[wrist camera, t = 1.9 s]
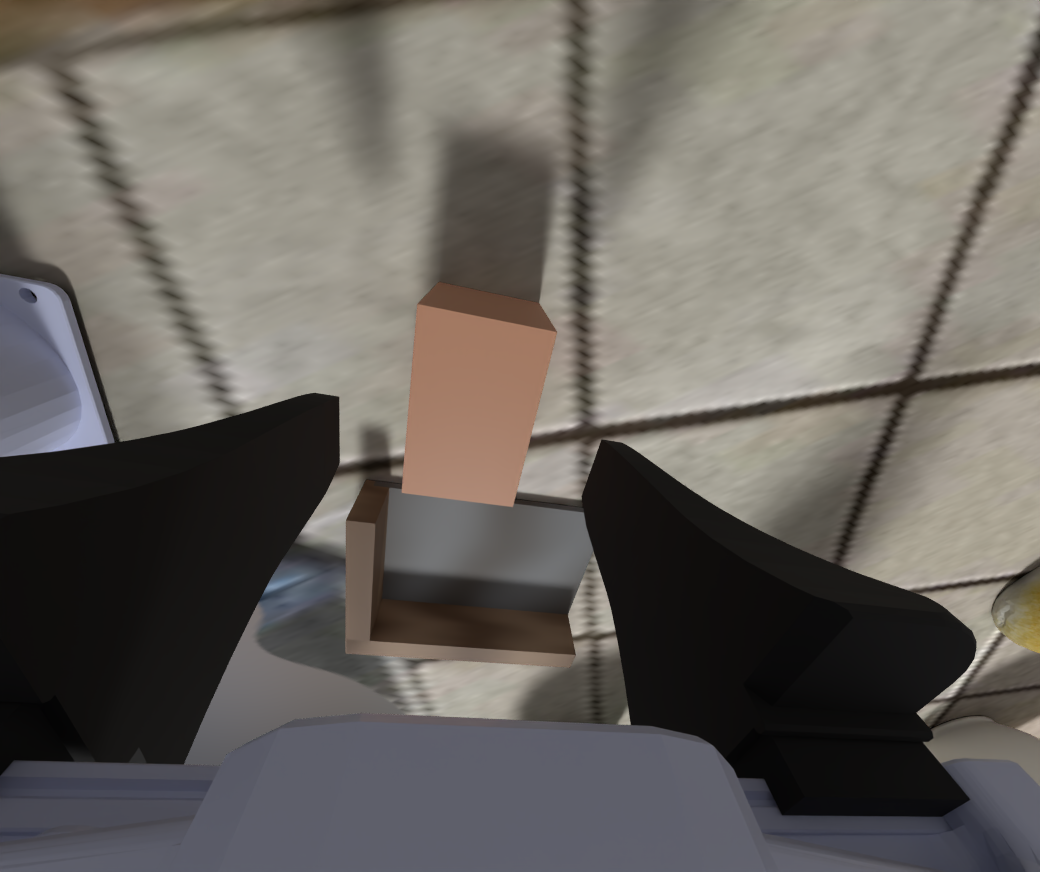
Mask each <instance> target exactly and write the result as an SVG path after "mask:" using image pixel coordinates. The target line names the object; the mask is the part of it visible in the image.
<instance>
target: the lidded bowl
mask: <svg viewBox="0 0 1040 872" xmlns="http://www.w3.org/2000/svg"><path fill="white" fill-rule="evenodd" d="M931 731H932V732H933V737H934V738H933V739H932V740H930V741H929V742H923V743H924V744H925V745H926V747H927V748H928V749H929V750H930V751H931V753H932V754H933V755H934V756H935V757H936V759H937V760H938V761H939V762H940V763H943V762H946V761H950V760H953V759H961V758H970V759H997V760H1010V761H1012V762H1015V763H1018V764H1019V765H1020V766H1021V767H1022V768H1023V769H1024V771H1025V772H1026V773H1027V774H1028V775H1029V776H1030V777H1031V778H1032V779H1033V780H1034V781H1035V782H1036V783H1037V784H1038V785H1039V786H1040V739H1039V738H1037V737H1035V736H1033V735H1031V734H1029V733H1026V732H1023V731H1021V730H1018V729H1015V728H1012V727H1009V726H1006V725H1002V724H998V723H995V722H994V721H993V720H992V719H991V718H989V717H986V716H969V717H963V718H959V719H955V720H951V721H948V722H946V723H943V724H940V725H938V726H936V727H934V728H932V729H931Z"/></svg>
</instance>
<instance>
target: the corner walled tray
mask: <svg viewBox="0 0 1040 872" xmlns="http://www.w3.org/2000/svg"><path fill="white" fill-rule="evenodd" d="M592 553H593V547H592V544H591V541H590V537H589V534H588V531H587V527H586V522H585V517H584V510H583V508H581V507H573V506H565V505H558V504H550V503H542V502H535V501H527V500H519V499H515V501H514V505H513V507H509V506H501V505H493V504H485V503H477V502H469V501H461V500H453V499H446V498H438V497H430V496H422V495H414V494H406V493H402V484H396V483H388V482H381V481H373V480H366V481H365V483H364V485H363V487H362V489H361V491H360V493H359V495H358V497H357V499H356V501H355V503H354V505H353V507H352V509H351V511H350V513H349V515H348V517H347V519H346V654H361V655H377V656H393V657H409V658H425V659H441V660H457V661H473V662H489V663H505V664H521V665H537V666H553V667H568V668H570V667H571V664H572V662H573V660H574V658H575V655H576V654H575V649H574V644H573V639H572V634H571V629H570V624H569V618H568V613H569V610H570V608H571V605H572V603H573V600H574V598H575V595H576V593H577V590H578V588H579V585H580V583H581V580H582V578H583V575H584V573H585V570H586V568H587V565H588V563H589V560H590V558H591V555H592Z"/></svg>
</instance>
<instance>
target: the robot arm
mask: <svg viewBox="0 0 1040 872" xmlns="http://www.w3.org/2000/svg"><path fill="white" fill-rule="evenodd" d="M31 291H32V292H33V293H35V295H36V297H37V299H36V298H35V297H33V295H32V293H31ZM339 463H340V446H339V397H337V396H331V395H325V394H319V393H310V394H305V395H301V396H298V397H294V398H291V399H288V400H284V401H281V402H278V403H275V404H272V405H269V406H265V407H262V408H259V409H256V410H253V411H249V412H246V413H243V414H239V415H236V416H232V417H229V418H225V419H222V420H218V421H214V422H211V423H207V424H204V425H200V426H196V427H192V428H188V429H184V430H179V431H175V432H170V433H165V434H160V435H155V436H150V437H145V438H140V439H135V440H129V441H123V442H116V443H115V442H114V438H113V435H112V432H111V429H110V426H109V422H108V419H107V416H106V413H105V410H104V407H103V403H102V400H101V397H100V394H99V391H98V387H97V384H96V381H95V378H94V375H93V371H92V368H91V365H90V362H89V359H88V355H87V352H86V349H85V346H84V343H83V340H82V336H81V333H80V330H79V327H78V324H77V320H76V317H75V314H74V311H73V308H72V304H71V301H70V299H69V297H68V295H67V294H66V293H65V291H64V290H63V289H61V288H60V287H58V286H57V285H55V284H52V283H48V282H43V281H37V280H32V279H26V278H21V277H15V276H10V275H4V274H0V872H1040V786H1039V785H1038V784H1037V783H1036V782H1035V781H1034V780H1033V779H1032V778H1031V777H1030V776H1029V775H1028V774H1027V773H1026V772H1025V771H1024V769H1023V768H1022V767H1021V766H1020V765H1019V764H1018V763H1015V762H1012V761H1010V760H997V759H970V758H961V759H953V760H950V761H946V762H943V763H940V762H939V761H938V760H937V759H936V757H935V756H934V755H933V754H932V753H931V751H930V750H929V749H928V748H927V747H926V745H925V744H924V743H923V742H929V741H930V740H932V739H933V738H934V737H933V732H932V731H931V729H930V728H929V727H928V726H927V725H926V724H925V722H924V721H923V720H922V719H921V718H920V717H919V716H918V714H917V712H918V711H919V710H920V709H921V708H923V707H924V706H925V705H926V704H928V703H929V702H930V701H931V700H933V699H934V698H935V697H936V696H938V695H939V694H940V693H941V692H943V691H944V690H945V689H946V688H948V687H949V686H950V685H951V684H953V683H954V682H955V681H956V680H957V679H958V678H959V677H960V676H961V675H962V674H963V673H964V672H965V671H966V670H967V669H968V667H969V666H970V664H971V663H972V661H973V660H974V657H975V652H976V639H975V637H974V635H973V632H972V631H971V630H970V629H969V628H968V627H966V626H965V625H964V624H963V623H962V622H961V621H959V620H958V619H957V618H956V617H955V616H954V615H952V614H951V613H950V612H949V611H948V610H947V609H945V608H944V607H943V606H941V605H940V604H938V603H936V602H935V601H933V600H931V599H929V598H927V597H925V596H922V595H919V594H916V593H913V592H911V591H908V590H905V589H902V588H899V587H896V586H893V585H890V584H887V583H885V582H882V581H879V580H876V579H873V578H870V577H867V576H864V575H862V574H859V573H856V572H853V571H851V570H848V569H846V568H843V567H841V566H838V565H836V564H833V563H831V562H828V561H826V560H823V559H821V558H818V557H816V556H814V555H811V554H809V553H807V552H805V551H802V550H800V549H798V548H795V547H793V546H791V545H789V544H787V543H785V542H783V541H781V540H778V539H776V538H774V537H772V536H770V535H768V534H766V533H764V532H762V531H760V530H758V529H756V528H754V527H752V526H750V525H748V524H746V523H745V522H743V521H741V520H739V519H738V518H736V517H734V516H732V515H730V514H729V513H727V512H725V511H723V510H722V509H720V508H718V507H717V506H715V505H713V504H712V503H710V502H708V501H707V500H705V499H704V498H702V497H701V496H699V495H698V494H696V493H695V492H693V491H692V490H690V489H689V488H687V487H686V486H684V485H683V484H681V483H680V482H679V481H677V480H676V479H674V478H673V477H672V476H670V475H669V474H667V473H666V472H665V471H663V470H662V469H660V468H659V467H658V466H656V465H655V464H654V463H652V462H651V461H649V460H648V459H647V458H645V457H644V456H643V455H641V454H640V453H638V452H637V451H635V450H634V449H632V448H631V447H629V446H627V445H625V444H623V443H621V442H614V441H608V440H601V443H600V446H599V449H598V451H597V454H596V457H595V460H594V463H593V466H592V468H591V471H590V474H589V477H588V480H587V483H586V485H585V488H584V491H583V494H582V503H583V510H584V517H585V522H586V527H587V531H588V534H589V537H590V541H591V544H592V547H593V551H594V554H595V557H596V560H597V563H598V566H599V569H600V573H601V576H602V579H603V582H604V585H605V588H606V592H607V595H608V599H609V602H610V606H611V610H612V615H613V620H614V625H615V630H616V635H617V640H618V645H619V651H620V657H621V663H622V669H623V674H624V680H625V686H626V694H627V701H628V708H629V715H630V722H631V725H616V724H594V723H572V722H549V721H527V720H505V719H483V718H461V717H439V716H417V715H395V714H393V715H392V714H373V713H357V714H346V715H335V716H325V717H314V718H303V719H295V720H292V721H290V722H288V723H286V724H284V725H282V726H280V727H278V728H276V729H274V730H272V731H270V732H268V733H266V734H263V735H261V736H259V737H257V738H255V739H253V740H251V741H249V742H247V743H245V744H244V745H242V746H240V747H238V748H237V749H235V750H233V751H232V752H230V753H228V754H226V756H225V758H224V760H223V762H222V764H221V765H184V763H185V760H186V757H187V756H188V753H189V751H190V748H191V746H192V744H193V741H194V739H195V736H196V734H197V732H198V730H199V727H200V725H201V722H202V720H203V718H204V716H205V713H206V711H207V709H208V707H209V705H210V702H211V700H212V698H213V696H214V694H215V691H216V689H217V687H218V685H219V683H220V681H221V678H222V676H223V674H224V672H225V670H226V667H227V665H228V663H229V661H230V659H231V657H232V655H233V652H234V651H235V648H236V646H237V644H238V642H239V640H240V638H241V636H242V634H243V632H244V630H245V628H246V626H247V624H248V622H249V620H250V618H251V616H252V614H253V612H254V610H255V608H256V606H257V604H258V602H259V600H260V598H261V596H262V594H263V592H264V590H265V588H266V587H267V585H268V583H269V581H270V579H271V577H272V575H273V574H274V572H275V570H276V569H277V567H278V565H279V564H280V562H281V560H282V559H283V557H284V556H285V554H286V553H287V551H288V550H289V548H290V547H291V545H292V544H293V542H294V541H295V539H296V538H297V536H298V535H299V533H300V532H301V530H302V529H303V527H304V526H305V524H306V523H307V521H308V520H309V518H310V517H311V515H312V514H313V512H314V511H315V509H316V508H317V506H318V505H319V503H320V502H321V500H322V498H323V497H324V495H325V494H326V492H327V490H328V488H329V486H330V483H331V481H332V479H333V477H334V475H335V472H336V470H337V468H338V466H339Z"/></svg>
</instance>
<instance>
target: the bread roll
mask: <svg viewBox="0 0 1040 872" xmlns="http://www.w3.org/2000/svg"><path fill="white" fill-rule="evenodd" d="M992 617H993V620H994V623H995V625H996V627H997V628H998V629H999V630H1000V631H1001V632H1002V633H1003V634H1004V635H1006V636H1007V637H1008V638H1009V639H1010V640H1012V641H1013V642H1014V643H1016V644H1018V645H1020V646H1023V647H1025V648H1027V649H1029V650H1032V651H1034V652H1037V653H1040V566H1039V567H1037V568H1036V569H1034V570H1033V571H1031V572H1029V573H1028V574H1026V575H1025V576H1023V577H1022V578H1020V579H1019V580H1017V581H1016V582H1014V583H1013V584H1012V585H1010V586H1009V587H1007V588H1006V589H1005V590H1004V591H1003V592H1002V593H1001V594H1000V595H999V597H998V598H997V599H996V601H995V603H994V606H993V609H992Z"/></svg>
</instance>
